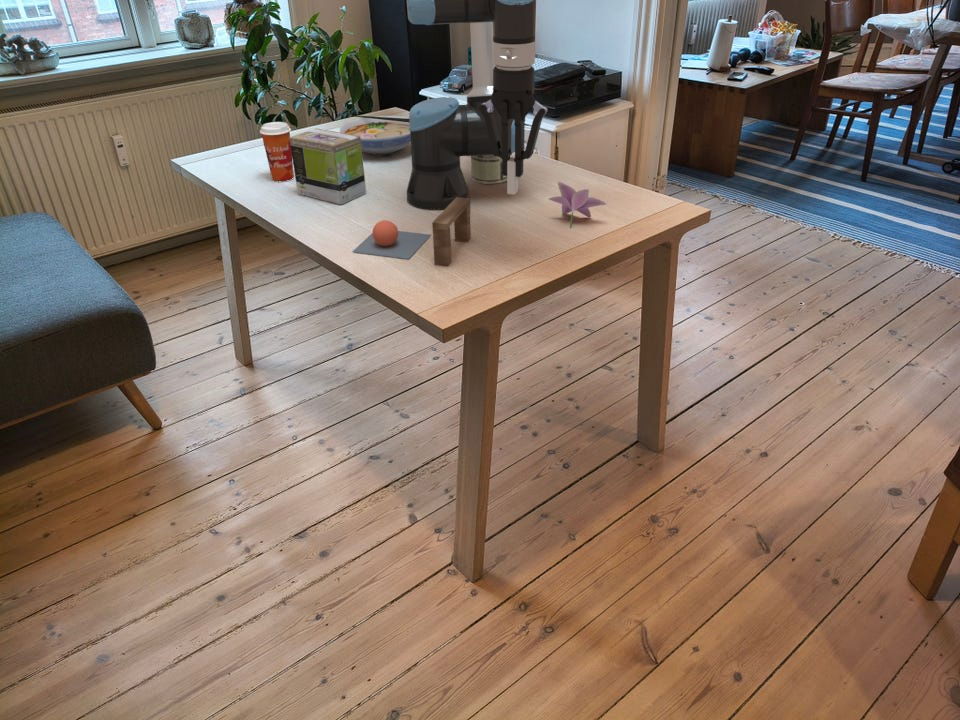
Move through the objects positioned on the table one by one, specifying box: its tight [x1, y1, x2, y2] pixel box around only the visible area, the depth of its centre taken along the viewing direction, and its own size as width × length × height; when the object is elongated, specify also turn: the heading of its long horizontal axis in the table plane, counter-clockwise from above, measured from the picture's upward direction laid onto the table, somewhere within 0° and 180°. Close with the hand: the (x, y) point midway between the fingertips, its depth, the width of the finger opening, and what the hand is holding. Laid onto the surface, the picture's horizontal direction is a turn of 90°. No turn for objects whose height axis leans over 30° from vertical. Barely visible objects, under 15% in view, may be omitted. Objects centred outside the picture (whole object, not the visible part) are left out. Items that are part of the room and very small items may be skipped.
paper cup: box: [259, 121, 295, 183], centre depth 196 cm, size 8×8×14 cm
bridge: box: [431, 197, 472, 267], centre depth 157 cm, size 3×14×9 cm, turn 162°
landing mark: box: [351, 230, 432, 261], centre depth 163 cm, size 13×13×1 cm
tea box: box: [289, 127, 367, 205], centre depth 185 cm, size 15×10×15 cm, turn 57°
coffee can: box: [470, 155, 507, 185], centre depth 194 cm, size 10×10×14 cm
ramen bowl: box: [339, 114, 411, 156], centre depth 216 cm, size 25×23×8 cm
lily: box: [548, 181, 607, 229], centre depth 170 cm, size 12×12×10 cm
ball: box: [371, 219, 399, 246], centre depth 161 cm, size 6×6×6 cm
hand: (512, 191), depth 148 cm, fingers closed
